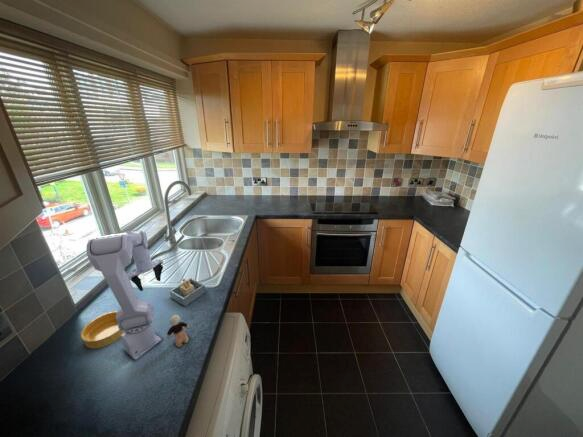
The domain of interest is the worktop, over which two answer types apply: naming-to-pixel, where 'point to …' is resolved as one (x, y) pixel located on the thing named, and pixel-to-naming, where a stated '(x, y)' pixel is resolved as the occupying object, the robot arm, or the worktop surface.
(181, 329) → the grandmother figurine
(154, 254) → the worktop surface
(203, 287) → the tub
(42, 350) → the worktop surface
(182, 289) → the toy
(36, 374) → the worktop surface
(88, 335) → the bowl
